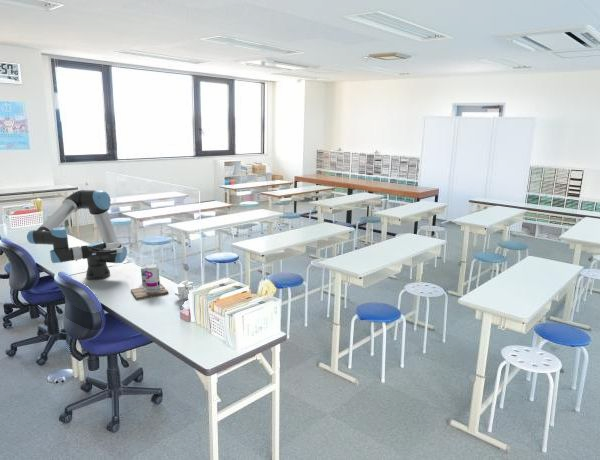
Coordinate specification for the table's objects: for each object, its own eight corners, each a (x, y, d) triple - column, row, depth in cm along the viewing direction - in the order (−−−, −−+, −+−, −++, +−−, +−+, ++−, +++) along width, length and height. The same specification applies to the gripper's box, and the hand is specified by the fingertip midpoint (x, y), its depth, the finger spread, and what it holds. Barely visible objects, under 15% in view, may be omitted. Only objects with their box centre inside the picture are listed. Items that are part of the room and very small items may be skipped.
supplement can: (152, 292, 275) (150, 269, 272) (143, 289, 279) (141, 267, 276) (162, 288, 282) (161, 265, 278) (153, 285, 286) (152, 263, 282)
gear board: (131, 291, 281) (130, 288, 281) (161, 286, 291) (161, 283, 291) (136, 300, 268) (136, 297, 268) (168, 293, 278) (168, 291, 278)
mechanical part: (184, 294, 277) (183, 276, 274) (198, 298, 271) (197, 279, 269) (170, 300, 268) (169, 281, 265) (185, 304, 262) (184, 285, 259)
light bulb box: (151, 284, 293) (149, 269, 291) (141, 284, 295) (140, 268, 292) (159, 279, 304) (158, 264, 301) (150, 278, 305) (148, 263, 302)
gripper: (78, 253, 268) (116, 248, 279) (85, 264, 248) (125, 258, 259) (77, 241, 266) (115, 236, 277) (83, 251, 246) (123, 246, 257)
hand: (120, 247), depth 268 cm, fingers open, 13 cm apart
